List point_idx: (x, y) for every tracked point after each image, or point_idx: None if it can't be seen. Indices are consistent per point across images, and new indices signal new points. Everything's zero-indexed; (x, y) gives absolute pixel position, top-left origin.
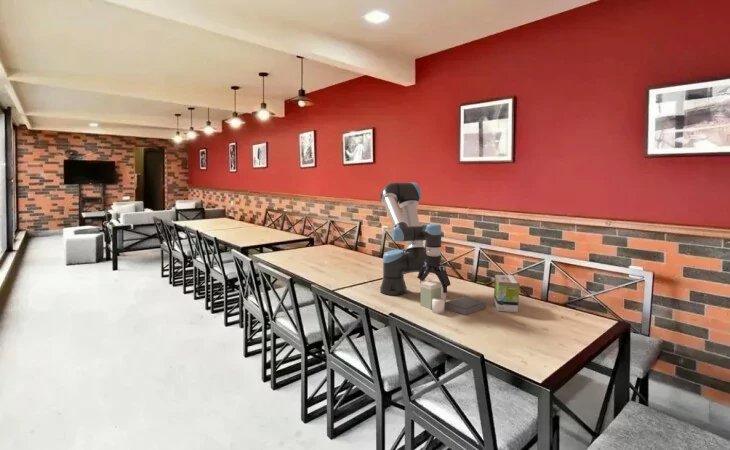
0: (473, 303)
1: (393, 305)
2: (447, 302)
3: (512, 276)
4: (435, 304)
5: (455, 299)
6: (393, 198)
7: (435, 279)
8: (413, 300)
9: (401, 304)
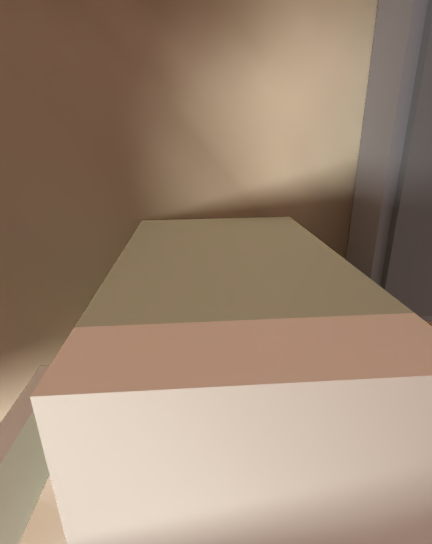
0: None
1: (32, 537)
2: None
3: None
4: None
5: (421, 149)
6: None
7: (75, 421)
8: (3, 370)
9: (44, 491)
